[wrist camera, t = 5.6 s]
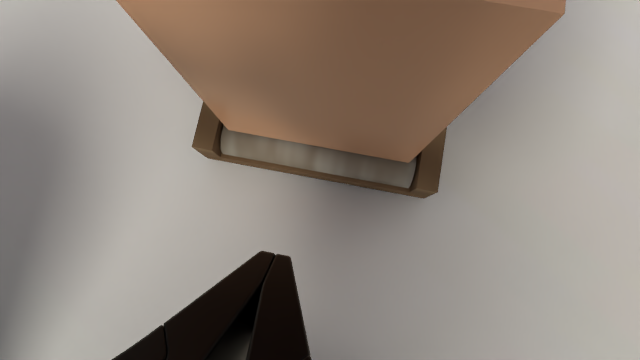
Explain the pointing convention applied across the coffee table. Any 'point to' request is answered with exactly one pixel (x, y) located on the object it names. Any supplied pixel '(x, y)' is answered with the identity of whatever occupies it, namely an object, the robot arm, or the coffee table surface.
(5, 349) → the coffee table surface
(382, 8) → the terracotta slab
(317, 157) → the roller track
